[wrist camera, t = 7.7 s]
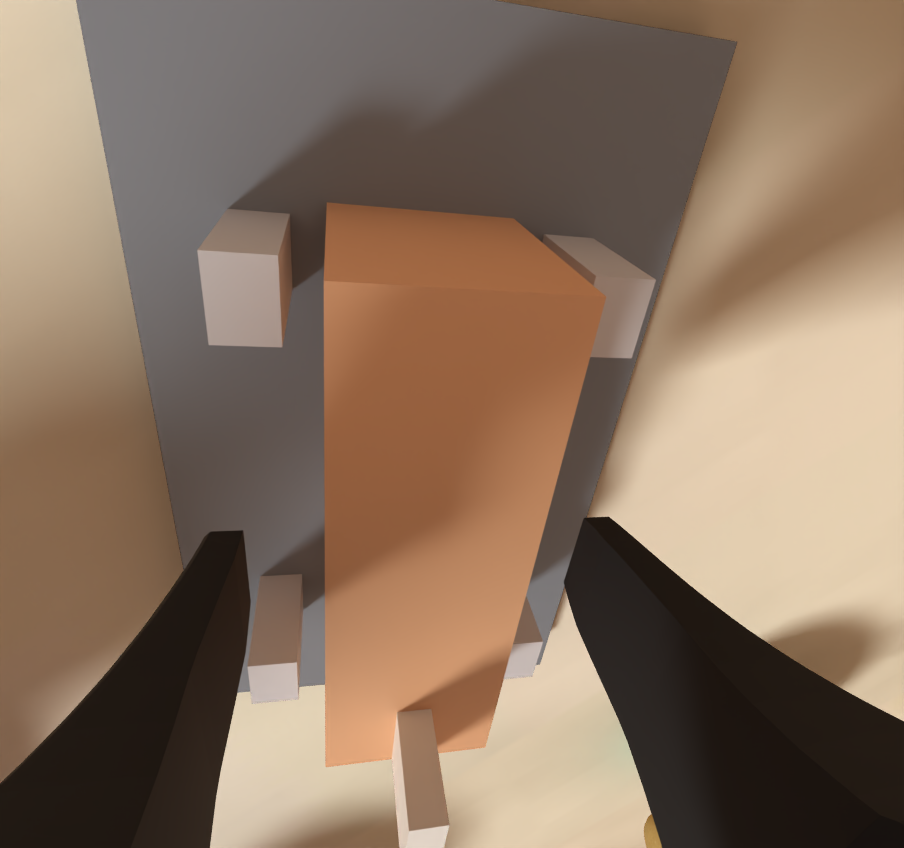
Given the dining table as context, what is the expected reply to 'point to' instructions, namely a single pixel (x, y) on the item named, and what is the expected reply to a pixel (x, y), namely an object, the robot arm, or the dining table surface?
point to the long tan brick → (436, 476)
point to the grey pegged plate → (380, 185)
